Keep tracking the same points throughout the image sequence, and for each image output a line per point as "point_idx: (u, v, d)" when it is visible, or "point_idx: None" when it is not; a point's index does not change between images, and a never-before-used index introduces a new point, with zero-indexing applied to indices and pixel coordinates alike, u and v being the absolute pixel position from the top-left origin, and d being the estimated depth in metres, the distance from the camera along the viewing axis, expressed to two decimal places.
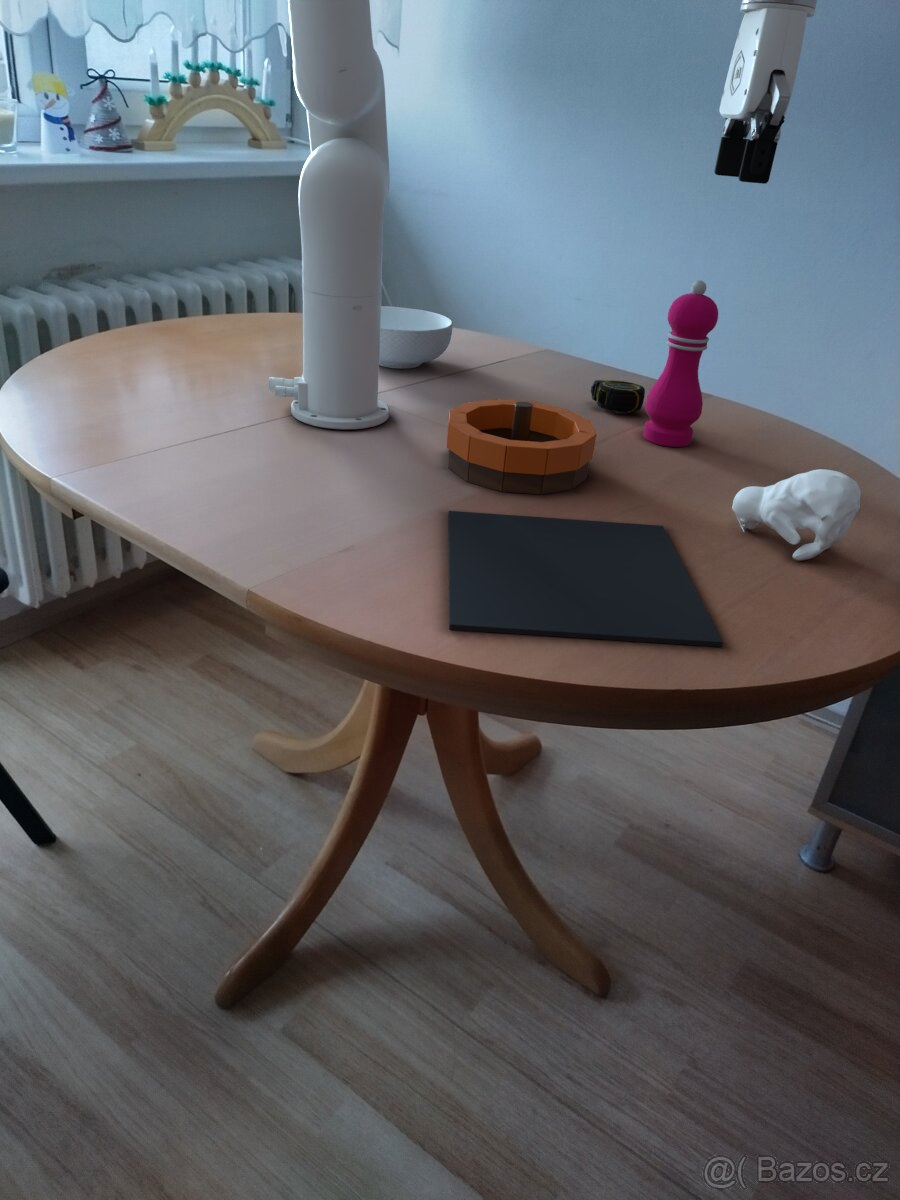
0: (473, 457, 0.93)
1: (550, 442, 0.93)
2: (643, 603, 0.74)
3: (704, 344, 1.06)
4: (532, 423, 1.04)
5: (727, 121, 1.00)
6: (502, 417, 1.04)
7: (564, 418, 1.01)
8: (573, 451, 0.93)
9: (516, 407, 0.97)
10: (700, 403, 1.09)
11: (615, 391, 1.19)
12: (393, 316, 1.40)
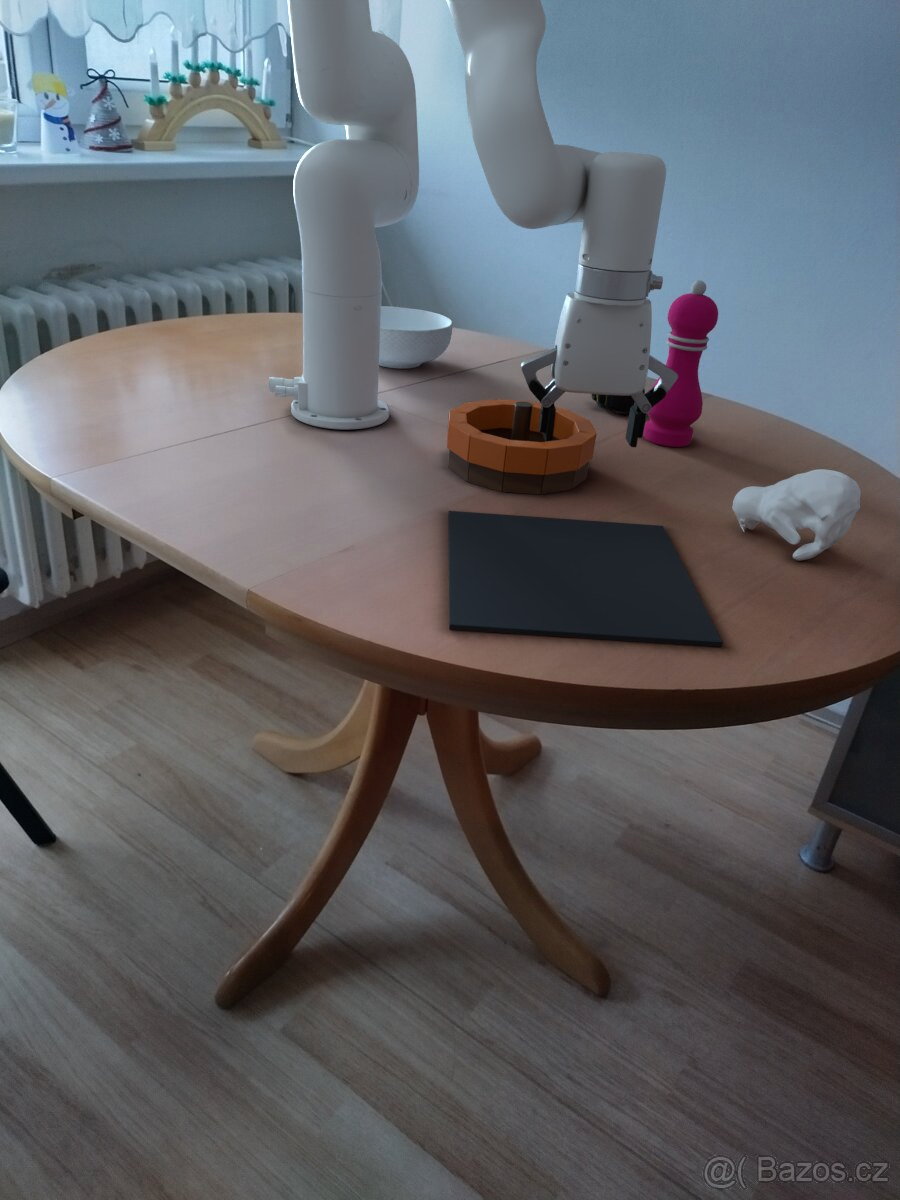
0: (473, 457, 0.93)
1: (550, 442, 0.93)
2: (643, 603, 0.74)
3: (704, 344, 1.06)
4: (532, 423, 1.04)
5: None
6: (502, 417, 1.04)
7: (564, 418, 1.01)
8: (573, 451, 0.93)
9: (516, 407, 0.97)
10: (700, 403, 1.09)
11: None
12: (393, 316, 1.40)
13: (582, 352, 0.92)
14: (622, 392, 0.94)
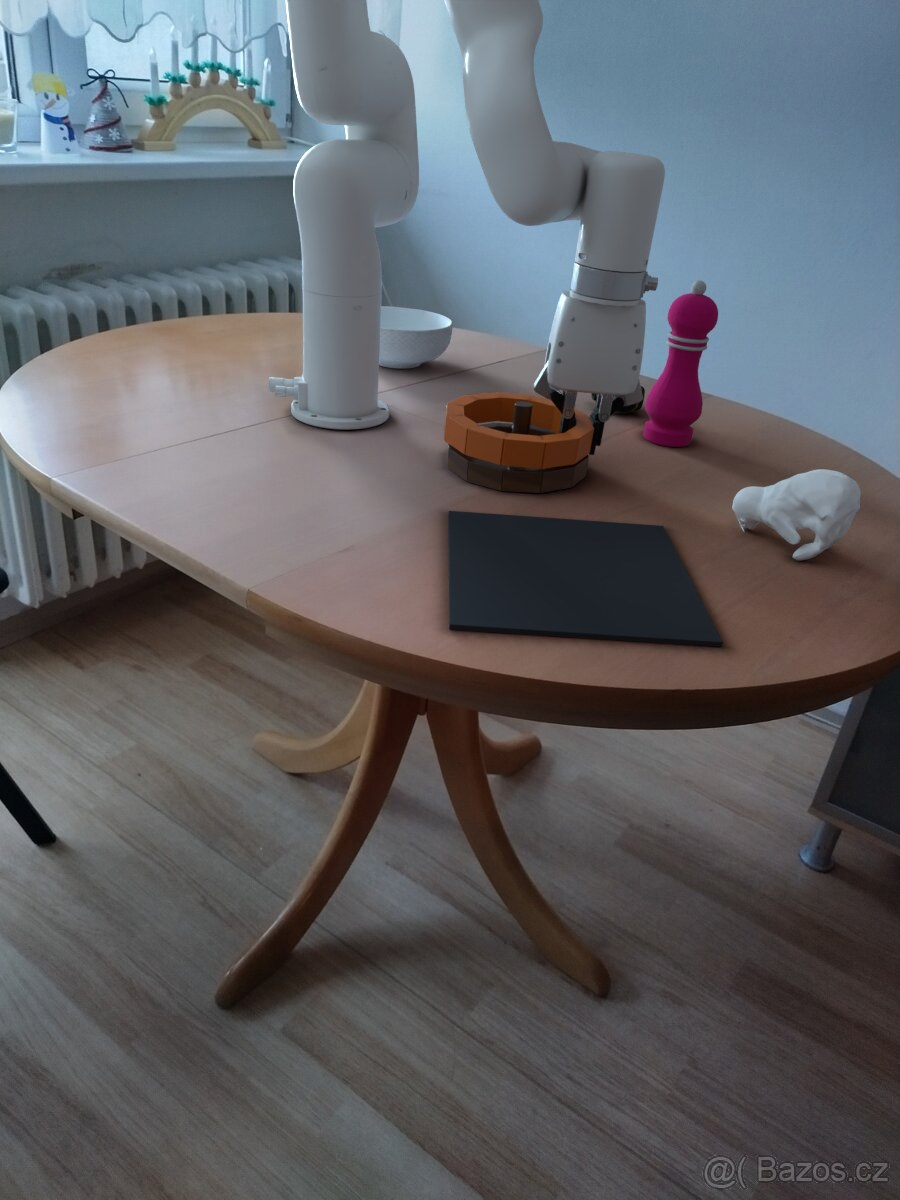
0: (470, 450, 0.93)
1: (547, 436, 0.93)
2: (643, 603, 0.74)
3: (704, 344, 1.06)
4: None
5: None
6: (499, 410, 1.04)
7: None
8: (570, 445, 0.93)
9: (516, 407, 0.97)
10: (700, 403, 1.09)
11: None
12: (393, 316, 1.40)
13: (575, 351, 0.92)
14: (614, 392, 0.95)
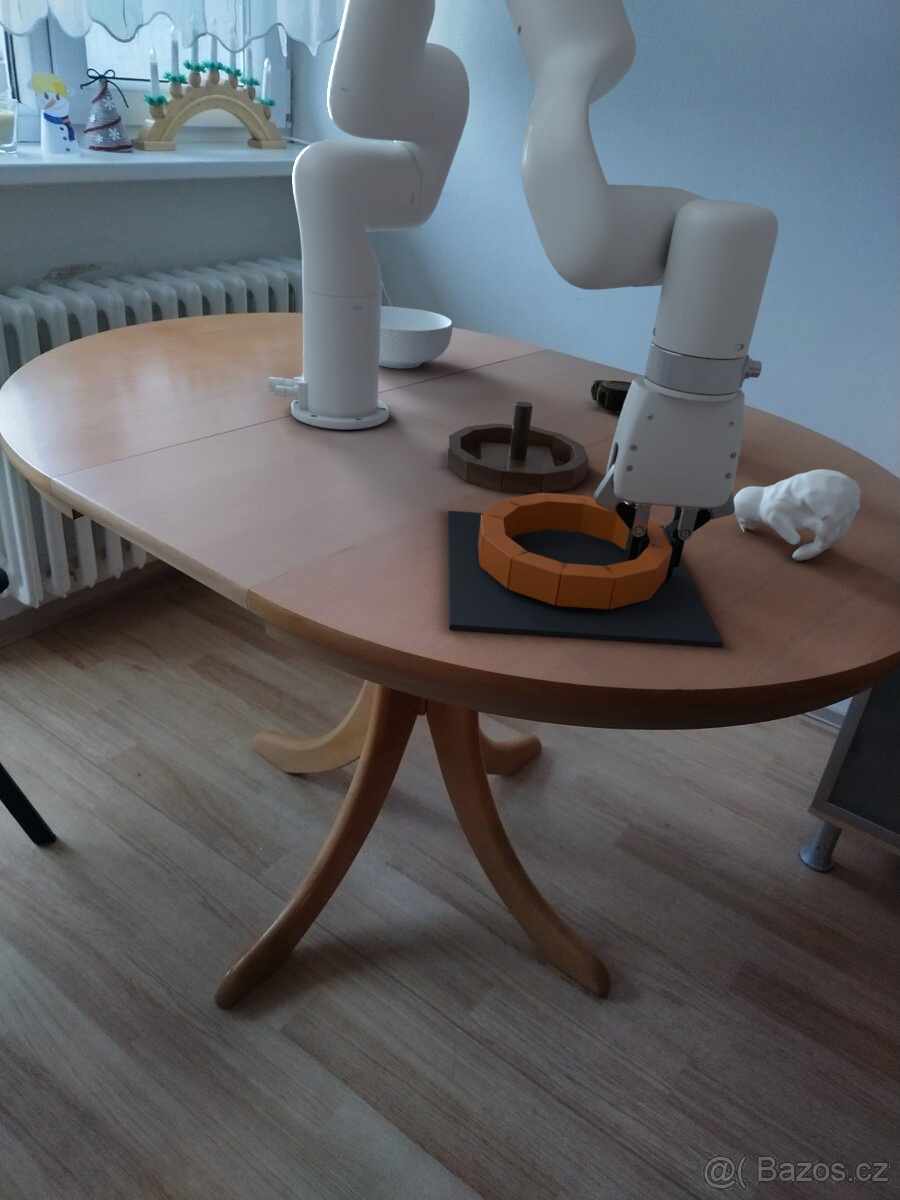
0: (515, 584, 0.72)
1: (616, 566, 0.71)
2: (643, 603, 0.74)
3: None
4: (584, 524, 0.83)
5: None
6: (546, 516, 0.83)
7: None
8: (646, 577, 0.71)
9: (516, 407, 0.97)
10: None
11: (615, 391, 1.19)
12: (393, 316, 1.40)
13: (652, 456, 0.70)
14: (700, 505, 0.73)
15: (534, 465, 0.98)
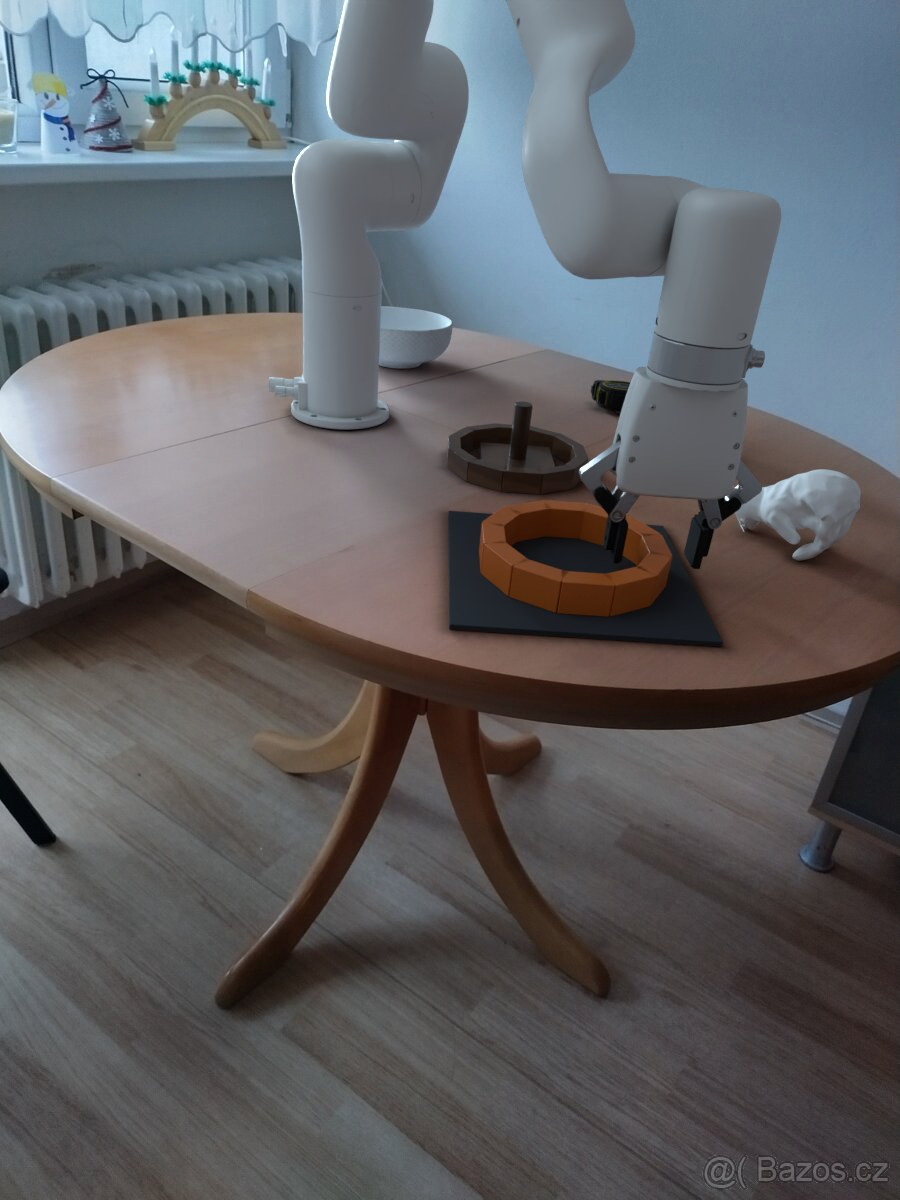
0: (516, 592, 0.72)
1: (616, 574, 0.71)
2: None
3: None
4: (584, 531, 0.83)
5: None
6: (547, 524, 0.83)
7: None
8: (646, 585, 0.72)
9: (516, 407, 0.97)
10: None
11: (615, 391, 1.19)
12: (393, 316, 1.40)
13: (655, 447, 0.70)
14: (703, 496, 0.73)
15: (534, 465, 0.98)
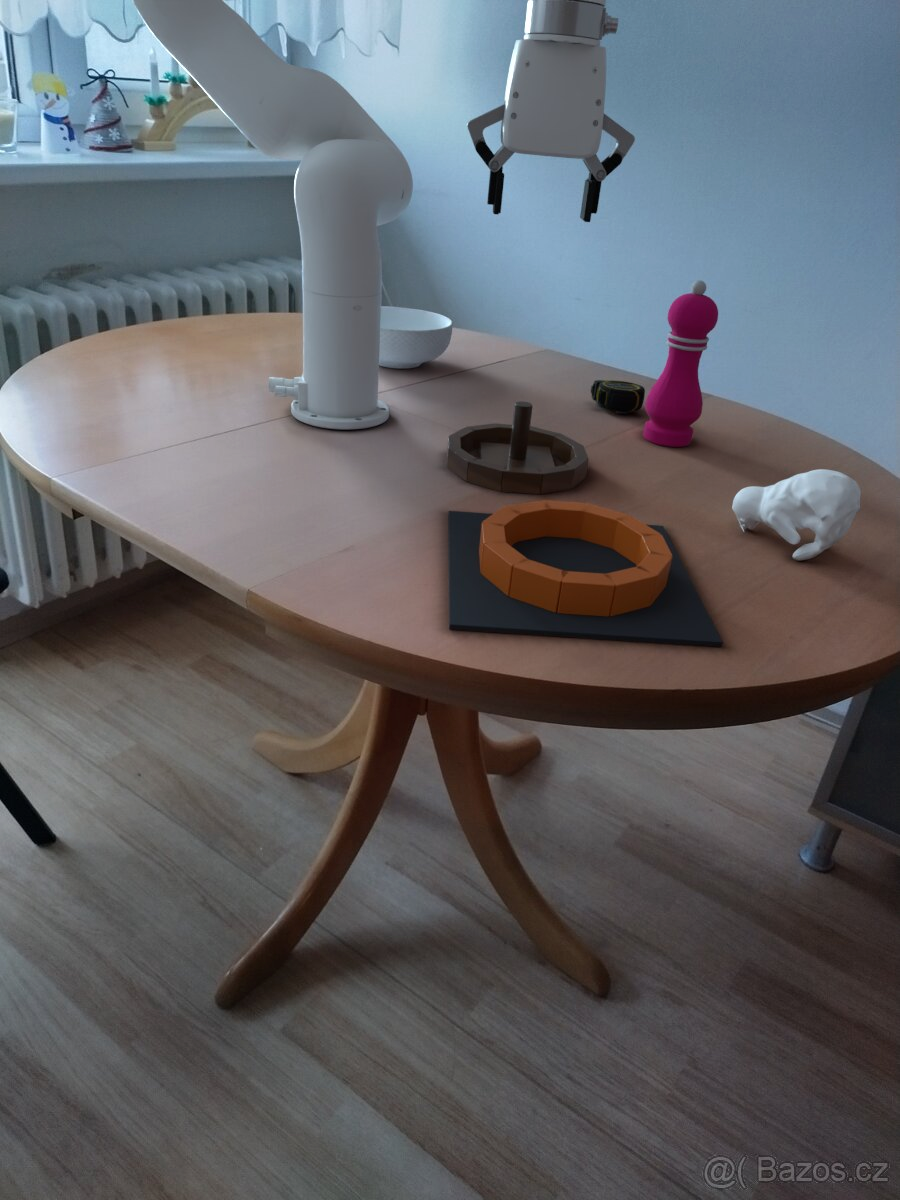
0: (516, 592, 0.72)
1: (616, 574, 0.71)
2: None
3: (704, 344, 1.06)
4: (584, 531, 0.83)
5: None
6: (547, 524, 0.83)
7: (627, 530, 0.80)
8: (646, 585, 0.72)
9: (516, 407, 0.97)
10: (700, 403, 1.09)
11: (615, 391, 1.19)
12: (393, 316, 1.40)
13: (531, 102, 0.86)
14: (574, 153, 0.88)
15: (534, 465, 0.98)
